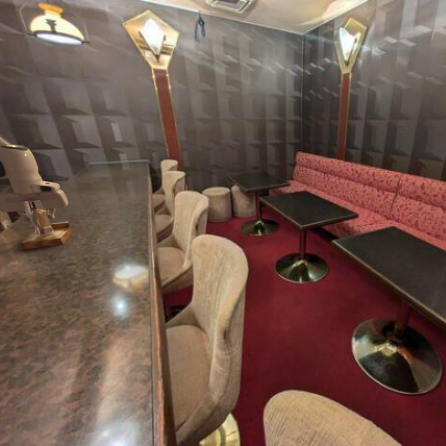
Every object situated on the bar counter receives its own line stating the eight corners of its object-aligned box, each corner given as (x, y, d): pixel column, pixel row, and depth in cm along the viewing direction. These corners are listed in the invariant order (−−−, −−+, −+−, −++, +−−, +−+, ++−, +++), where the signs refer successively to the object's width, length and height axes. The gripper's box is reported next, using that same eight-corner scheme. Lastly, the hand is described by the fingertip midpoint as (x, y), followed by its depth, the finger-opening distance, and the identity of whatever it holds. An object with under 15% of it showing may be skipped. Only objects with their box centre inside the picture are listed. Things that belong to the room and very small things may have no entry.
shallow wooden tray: (24, 249, 100) (19, 237, 98) (37, 236, 112) (33, 225, 110) (63, 244, 106) (59, 232, 104) (72, 232, 117) (68, 221, 115)
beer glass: (52, 228, 110) (41, 195, 105) (58, 231, 107) (47, 198, 102) (31, 233, 105) (18, 199, 99) (36, 237, 101) (23, 202, 96)
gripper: (-14, 190, 91) (1, 225, 96) (59, 187, 101) (69, 218, 106) (-5, 187, 96) (9, 220, 101) (64, 183, 106) (73, 214, 111)
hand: (40, 219), depth 104 cm, fingers closed on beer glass, 6 cm apart
